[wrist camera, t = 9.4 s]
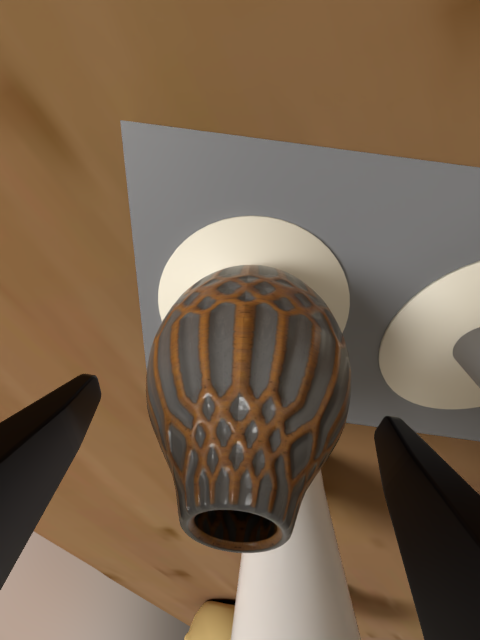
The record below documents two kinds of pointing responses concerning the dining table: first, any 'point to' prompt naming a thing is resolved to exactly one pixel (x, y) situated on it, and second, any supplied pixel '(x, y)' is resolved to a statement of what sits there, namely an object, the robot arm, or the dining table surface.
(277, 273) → the vase
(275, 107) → the dining table surface
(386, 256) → the board
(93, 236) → the dining table surface
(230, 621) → the sculpture
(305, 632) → the white tapered cylinder
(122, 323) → the dining table surface
